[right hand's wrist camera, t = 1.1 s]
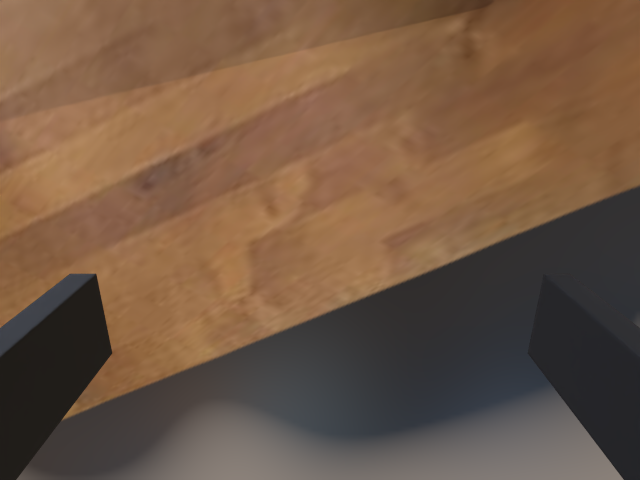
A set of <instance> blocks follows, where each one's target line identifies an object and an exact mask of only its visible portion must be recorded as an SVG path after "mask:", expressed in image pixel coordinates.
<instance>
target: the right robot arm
mask: <svg viewBox="0 0 640 480" xmlns="http://www.w3.org/2000/svg"><path fill="white" fill-rule="evenodd" d="M111 354H112V350H111V345H110V340H109V335H108V330H107V325H106V320H105V315H104V310H103V305H102V300H101V295H100V290H99V285H98V280H97V275H96V274H69V275H68V276H67V277H65V278H64V279H63V280H62V281H60V282H59V283H58V284H56V285H55V286H54V287H53V288H51V289H50V290H49V291H47V292H46V293H45V294H44V295H42V296H41V297H40V298H38V299H37V300H36V301H35V302H33V303H32V304H31V305H29V306H28V307H27V308H25V309H24V310H23V311H22V312H20V313H19V314H18V315H16V316H15V317H14V318H13V319H11V320H10V321H9V322H7V323H6V324H5V325H4V326H2V327H1V328H0V480H16V479H17V478H18V476H19V475H20V474H21V473H22V471H23V470H24V469H25V467H26V466H27V465H28V463H29V462H30V461H31V459H32V458H33V457H34V455H35V454H36V453H37V451H38V450H39V449H40V448H41V446H42V445H43V444H44V442H45V441H46V440H47V438H48V437H49V436H50V434H51V433H52V432H53V430H54V429H55V428H56V426H57V425H58V424H59V423H60V421H61V420H62V419H63V417H64V416H65V415H66V413H67V412H68V411H69V409H70V408H71V407H72V405H73V404H74V403H75V401H76V400H77V399H78V398H79V396H80V395H81V394H82V392H83V391H84V390H85V388H86V387H87V386H88V384H89V383H90V382H91V380H92V379H93V378H94V376H95V375H96V374H97V373H98V371H99V370H100V369H101V367H102V366H103V365H104V363H105V362H106V361H107V359H108V358H109V357H110V355H111ZM528 354H529V355H530V357H531V358H532V359H533V361H534V362H535V363H536V365H537V366H538V367H539V369H540V370H541V371H542V373H543V374H544V375H545V376H546V378H547V379H548V380H549V382H550V383H551V384H552V386H553V387H554V388H555V390H556V391H557V392H558V394H559V395H560V396H561V398H562V399H563V400H564V401H565V403H566V404H567V405H568V407H569V408H570V409H571V411H572V412H573V413H574V415H575V416H576V417H577V419H578V420H579V421H580V423H581V424H582V425H583V426H584V428H585V429H586V430H587V432H588V433H589V434H590V436H591V437H592V438H593V440H594V441H595V442H596V444H597V445H598V446H599V448H600V449H601V450H602V451H603V453H604V454H605V455H606V457H607V458H608V459H609V461H610V462H611V463H612V465H613V466H614V467H615V469H616V470H617V471H618V472H619V474H620V475H621V476H622V478H623V479H624V480H640V328H639V327H638V326H636V325H635V324H634V323H633V322H631V321H630V320H629V319H627V318H626V317H625V316H624V315H622V314H621V313H620V312H618V311H617V310H616V309H614V308H613V307H612V306H611V305H609V304H608V303H607V302H605V301H604V300H603V299H602V298H600V297H599V296H598V295H596V294H595V293H594V292H593V291H591V290H590V289H589V288H587V287H586V286H585V285H583V284H582V283H581V282H580V281H578V280H577V279H576V278H575V277H573V276H572V275H571V274H544V275H543V280H542V285H541V290H540V295H539V300H538V305H537V310H536V315H535V320H534V325H533V330H532V335H531V340H530V345H529V350H528Z"/></svg>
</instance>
